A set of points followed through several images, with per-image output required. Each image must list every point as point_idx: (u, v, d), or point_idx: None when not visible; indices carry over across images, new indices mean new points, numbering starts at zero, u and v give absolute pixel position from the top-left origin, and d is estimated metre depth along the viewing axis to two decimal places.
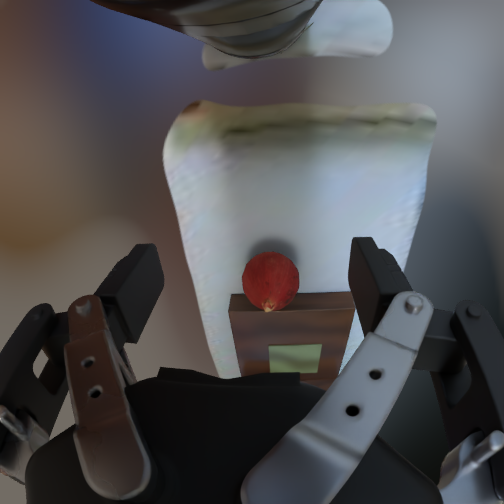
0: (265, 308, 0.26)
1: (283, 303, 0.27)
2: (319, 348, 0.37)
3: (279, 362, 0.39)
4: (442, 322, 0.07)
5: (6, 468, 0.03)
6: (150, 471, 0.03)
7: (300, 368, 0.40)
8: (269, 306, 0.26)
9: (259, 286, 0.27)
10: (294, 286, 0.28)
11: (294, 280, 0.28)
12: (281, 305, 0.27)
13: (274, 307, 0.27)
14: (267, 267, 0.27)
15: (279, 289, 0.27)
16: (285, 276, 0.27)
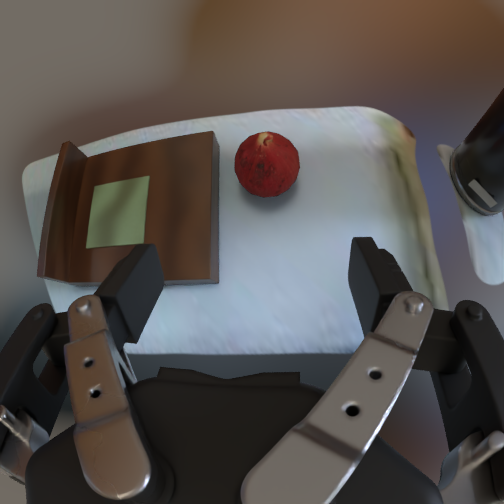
0: (266, 133, 0.21)
1: (260, 160, 0.22)
2: (135, 241, 0.26)
3: (116, 193, 0.27)
4: (442, 322, 0.07)
5: (6, 468, 0.03)
6: (150, 471, 0.03)
7: (97, 222, 0.27)
8: (267, 137, 0.21)
9: (282, 138, 0.23)
10: (273, 178, 0.23)
11: (280, 180, 0.23)
12: (257, 157, 0.22)
13: (261, 145, 0.22)
14: (296, 153, 0.24)
15: (280, 155, 0.22)
16: (289, 168, 0.23)
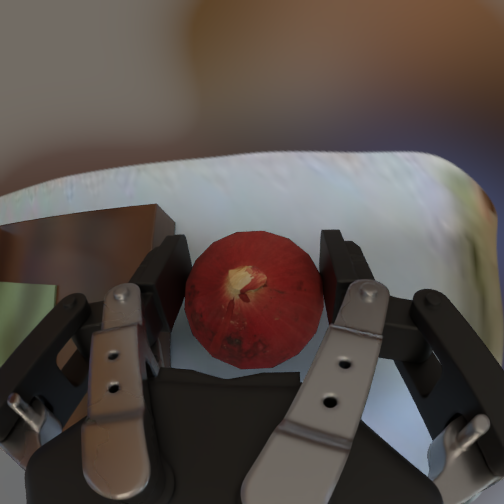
0: (248, 271, 0.08)
1: (231, 330, 0.09)
2: None
3: (18, 304, 0.14)
4: (401, 310, 0.07)
5: (10, 453, 0.04)
6: (148, 478, 0.03)
7: (3, 344, 0.13)
8: (252, 285, 0.08)
9: (290, 264, 0.10)
10: (264, 359, 0.10)
11: (279, 358, 0.10)
12: (224, 324, 0.09)
13: (235, 301, 0.09)
14: (320, 290, 0.11)
15: (283, 318, 0.09)
16: (301, 336, 0.10)
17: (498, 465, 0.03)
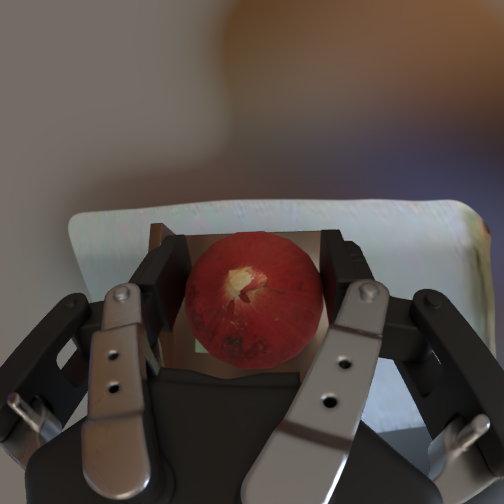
0: (248, 272, 0.08)
1: (232, 331, 0.09)
2: None
3: None
4: (401, 310, 0.07)
5: (11, 453, 0.04)
6: (148, 478, 0.03)
7: None
8: (252, 285, 0.08)
9: (290, 264, 0.10)
10: (264, 359, 0.10)
11: (279, 358, 0.10)
12: (225, 325, 0.09)
13: (235, 302, 0.09)
14: (320, 290, 0.11)
15: (284, 319, 0.09)
16: (301, 336, 0.10)
17: (498, 465, 0.03)
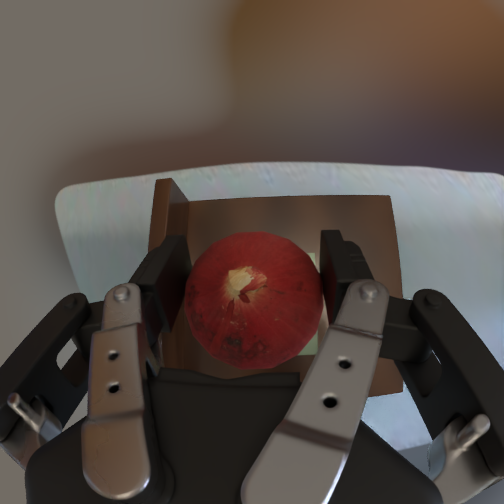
0: (248, 272, 0.08)
1: (231, 331, 0.09)
2: (306, 351, 0.18)
3: None
4: (401, 310, 0.07)
5: (11, 453, 0.04)
6: (149, 478, 0.03)
7: None
8: (252, 285, 0.08)
9: (289, 264, 0.10)
10: (264, 359, 0.10)
11: (278, 359, 0.10)
12: (225, 325, 0.09)
13: (235, 302, 0.09)
14: (320, 290, 0.11)
15: (283, 319, 0.09)
16: (301, 336, 0.10)
17: (498, 465, 0.03)
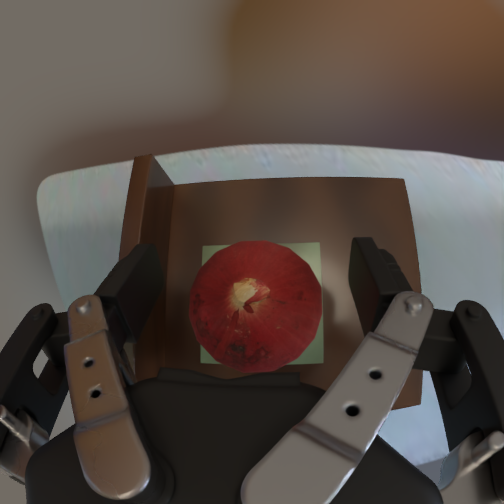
0: (252, 284, 0.09)
1: (235, 338, 0.10)
2: (309, 359, 0.15)
3: None
4: (442, 322, 0.07)
5: (6, 468, 0.03)
6: (150, 471, 0.03)
7: None
8: (255, 297, 0.09)
9: (290, 275, 0.10)
10: (266, 363, 0.10)
11: (279, 363, 0.11)
12: (229, 333, 0.10)
13: (240, 312, 0.09)
14: (319, 298, 0.11)
15: (285, 327, 0.10)
16: (301, 342, 0.10)
17: (503, 488, 0.02)
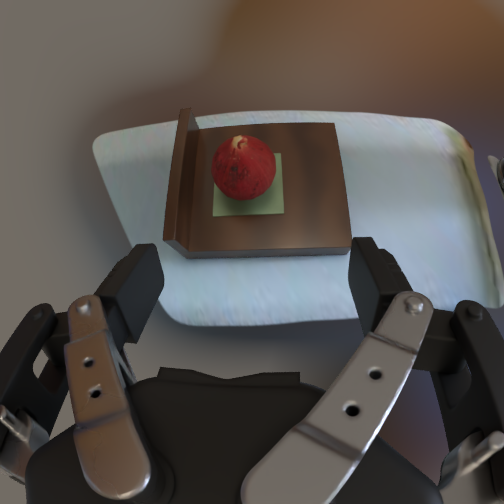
0: (240, 136, 0.21)
1: (233, 163, 0.22)
2: (275, 211, 0.28)
3: None
4: (442, 322, 0.07)
5: (6, 468, 0.03)
6: (150, 471, 0.03)
7: None
8: (241, 141, 0.22)
9: (257, 142, 0.23)
10: (247, 181, 0.23)
11: (254, 183, 0.24)
12: (231, 160, 0.22)
13: (235, 148, 0.22)
14: (272, 157, 0.24)
15: (254, 159, 0.23)
16: (263, 171, 0.23)
17: (503, 488, 0.02)
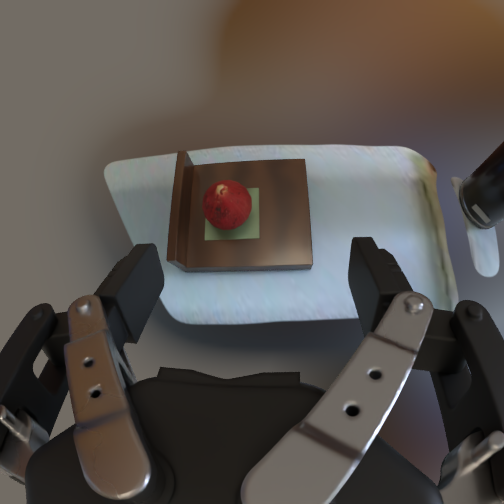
0: (222, 185, 0.30)
1: (217, 205, 0.31)
2: (253, 236, 0.37)
3: None
4: (442, 322, 0.07)
5: (6, 468, 0.03)
6: (150, 471, 0.03)
7: None
8: (223, 188, 0.30)
9: (236, 187, 0.32)
10: (228, 218, 0.32)
11: (233, 219, 0.32)
12: (215, 203, 0.31)
13: (219, 194, 0.30)
14: (248, 197, 0.33)
15: (233, 201, 0.31)
16: (240, 210, 0.32)
17: (503, 487, 0.02)
